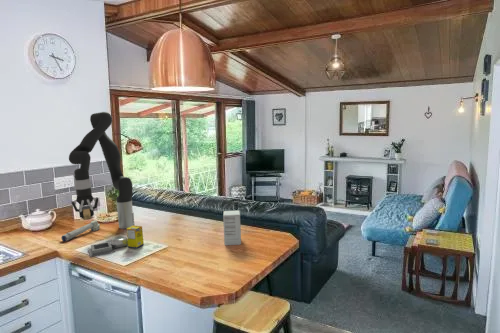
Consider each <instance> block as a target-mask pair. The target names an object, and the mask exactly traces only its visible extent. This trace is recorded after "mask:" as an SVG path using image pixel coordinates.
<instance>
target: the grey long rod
mask: <svg viewBox="0 0 500 333" xmlns="http://www.w3.org/2000/svg"><path fill="white" fill-rule="evenodd" d="M100 226H101V225H100V223H99V222H98V220H96V219H95V220H92V221H90V223H87V224H85V225H83V226H80V227H78V228H75V229H74V230H72V231H69V232H65V234H63V235H62V236H61V240H62V242H68V241H70V240H72V239H73V238H75V237H77V236H79V235H81V234H83V233H85V232H86V231H89V230H90V231H91V232H95V231H99V230H100V229H101V227H100Z"/></svg>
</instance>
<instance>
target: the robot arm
mask: <svg viewBox="0 0 500 333" xmlns="http://www.w3.org/2000/svg"><path fill="white" fill-rule="evenodd" d="M89 118H90V119H89V120H90V121H89V122H90V124H91V126H92V129H91V130H89V132H87V133H86V134H85V136H83V138H82V139H81V141H80V142H79V144H78V145H76V147H74V148H73V150H71V151H70V153H69V155H68V161H69V162H70V163H71V165H80V167H79V168H76V169H75V170H74V172H73V173H74V184H75V193H76V199H75V200H72V201H71V202H70V203H71V205H72V207H73V209H74V211H75V212H76V213H78V214H79V218H80V219H83V214H82V208H83V206H88V205H89V206H90V208H91V217H92V218H93V216H94V215H95V213H94V212H95V211H94V210H96V209H97V208H98V204H99V198H98V197H93V194H92V191H93V190H92V185H91V179H90V172H89V171H90V164H91V154H90V153H91V152H92V151H93V149H94V148H95V146H96V144H97V142H98V143H99V145H100V148H101V151H102V154H103V157H104V159H105V162H106V166H107V167H108V170H109V174H110V178H111V181H112V182H111V183H112V186H113V188H114V189H115V190H117V191H118V196H117V197H116V209H117V220H118V228H119V229H121V230H122V229H126V230H127V228H129V227H131V226H133V225H135V213H134V210H133V195H134V194H133V192H134V191H133V181H132V180H131V178H130V177H127V176H124V175H123V172H122V169H121V159H122V158H121V153H120V150H119V147H118V146H117V144H116V143H115V141H113V139H111V138H110V137H109V136H108V134H107V133H106V131H107V130H108V129H109V127H111V125H112V123H113V117H112V115H111V113H109V112H107V111H101V112H95V113H92V114H91V115H90V117H89ZM93 201H94V204H93V205H92V204H91V203H92V202H93ZM77 204H79V208H77Z"/></svg>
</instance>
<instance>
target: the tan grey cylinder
mask: <svg viewBox="0 0 500 333" xmlns="http://www.w3.org/2000/svg"><path fill="white" fill-rule="evenodd" d="M82 214H83V218H82V220H83V221H89V220H91V219H92V218H93V217H91V208H90V206H89V205H85V206H83V208H82Z"/></svg>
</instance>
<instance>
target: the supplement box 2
mask: <svg viewBox="0 0 500 333" xmlns="http://www.w3.org/2000/svg"><path fill="white" fill-rule="evenodd" d="M222 217H223V218H222V220H223V221H222V223H223V242H224V244H223V245H224V246H235V245H237V246H238V245H242V231H241V230H242V229H241V212H240V210H224V211H223V215H222Z"/></svg>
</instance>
